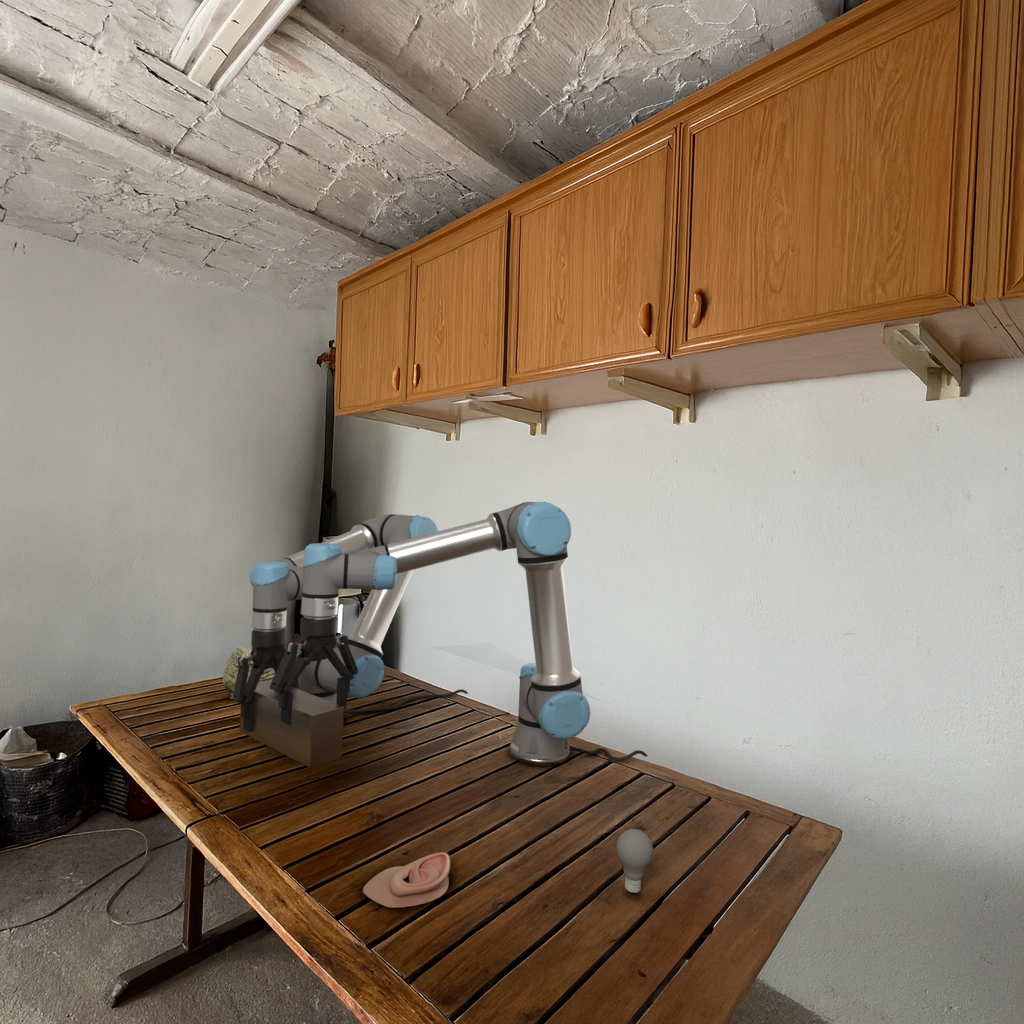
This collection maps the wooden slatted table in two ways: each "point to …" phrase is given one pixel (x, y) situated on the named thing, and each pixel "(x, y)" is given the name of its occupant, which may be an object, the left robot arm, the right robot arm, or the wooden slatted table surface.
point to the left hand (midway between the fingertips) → (265, 725)
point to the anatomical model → (411, 882)
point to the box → (297, 725)
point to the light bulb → (634, 857)
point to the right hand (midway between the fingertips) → (314, 715)
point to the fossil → (233, 667)
